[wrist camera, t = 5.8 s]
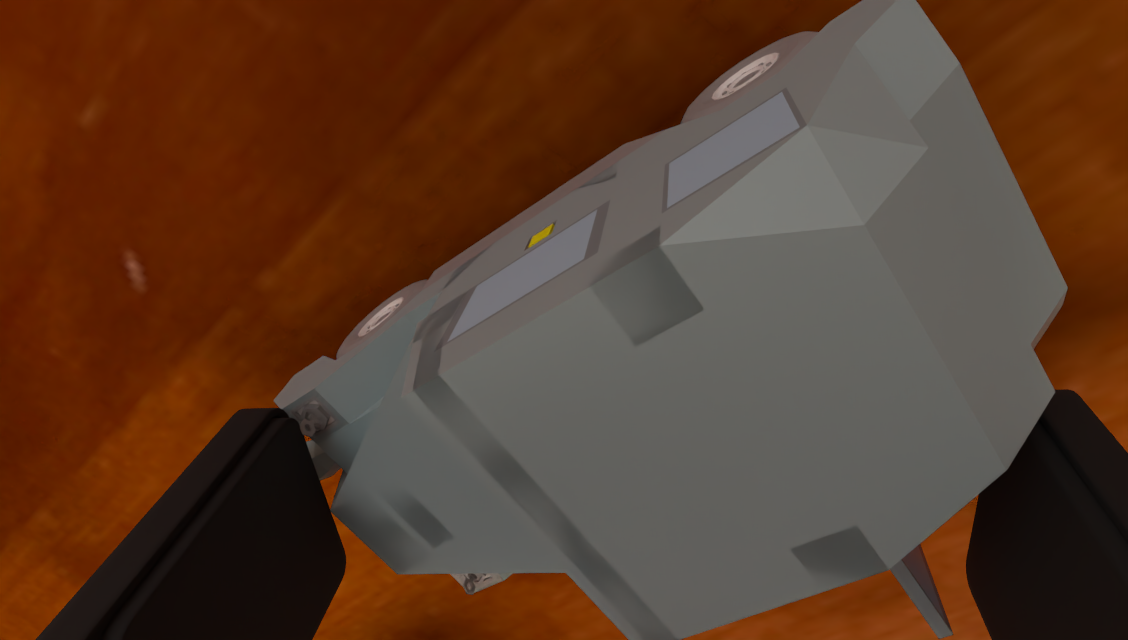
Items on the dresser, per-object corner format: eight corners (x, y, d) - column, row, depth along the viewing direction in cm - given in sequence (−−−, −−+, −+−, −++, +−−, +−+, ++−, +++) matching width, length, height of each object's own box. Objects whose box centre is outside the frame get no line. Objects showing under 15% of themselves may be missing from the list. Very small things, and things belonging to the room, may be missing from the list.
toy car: (328, 334, 13) (159, 540, 9) (865, -29, 9) (1019, 34, 5) (542, 560, 15) (490, 813, 11) (1054, 346, 11) (1275, 613, 7)
